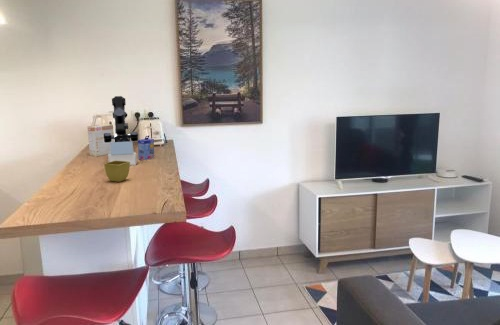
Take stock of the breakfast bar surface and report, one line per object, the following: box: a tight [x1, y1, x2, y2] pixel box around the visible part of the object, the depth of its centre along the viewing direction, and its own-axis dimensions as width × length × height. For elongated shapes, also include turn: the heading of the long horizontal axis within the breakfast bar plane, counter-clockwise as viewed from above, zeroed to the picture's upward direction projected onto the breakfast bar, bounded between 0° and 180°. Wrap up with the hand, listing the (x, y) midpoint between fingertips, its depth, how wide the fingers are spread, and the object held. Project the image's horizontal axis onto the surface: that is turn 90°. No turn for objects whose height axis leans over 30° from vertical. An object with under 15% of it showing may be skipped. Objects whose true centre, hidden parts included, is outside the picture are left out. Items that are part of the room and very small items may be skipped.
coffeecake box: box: [86, 123, 115, 158], centre depth 270 cm, size 15×7×20 cm, turn 144°
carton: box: [107, 150, 138, 166], centre depth 239 cm, size 13×15×6 cm
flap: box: [110, 140, 134, 155], centre depth 232 cm, size 1×12×7 cm, turn 108°
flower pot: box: [103, 161, 131, 183], centre depth 197 cm, size 9×9×9 cm
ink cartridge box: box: [137, 135, 155, 161], centre depth 254 cm, size 10×6×14 cm, turn 158°
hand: (121, 148), depth 233 cm, fingers closed
